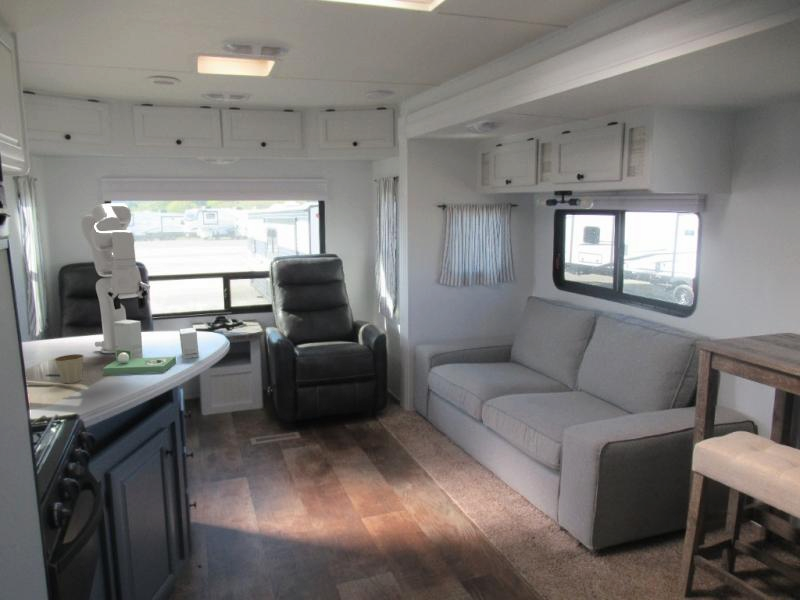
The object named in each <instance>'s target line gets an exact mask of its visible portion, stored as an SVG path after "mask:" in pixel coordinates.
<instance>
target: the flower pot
mask: <svg viewBox="0 0 800 600" xmlns="http://www.w3.org/2000/svg"><path fill="white" fill-rule="evenodd" d="M84 358H85V355H84V354H81V353H79V354H78V353H74V354H66V355H61V356H58V357H55V358H53V362H55V364H56V366H57V370H58V372H59V376H60V379H61V382H62V384H66V383H67V384H74V383H77V382H79V381H82V377H83V361H84Z"/></svg>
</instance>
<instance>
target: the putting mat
mask: <svg viewBox="0 0 800 600" xmlns="http://www.w3.org/2000/svg"><path fill="white" fill-rule="evenodd" d="M176 363H177V360H176V356H163V357H161V356H160V357H143V358H129V360H128V362H126V363H120V362H119V361H118V359H117V360H116V359H115V360H114V361H112V362H111V363H109V364H107V365H105V366H104V367H103V368H102V375H103V376H105V375H130V373H136V374H148V373H147V372H161V373H165V372H167V371H168V370H169V369H171V368H172V367H173V366H172V365H173V364H174V365H175V364H176ZM168 368H169V369H168ZM167 369H168V370H167Z"/></svg>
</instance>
